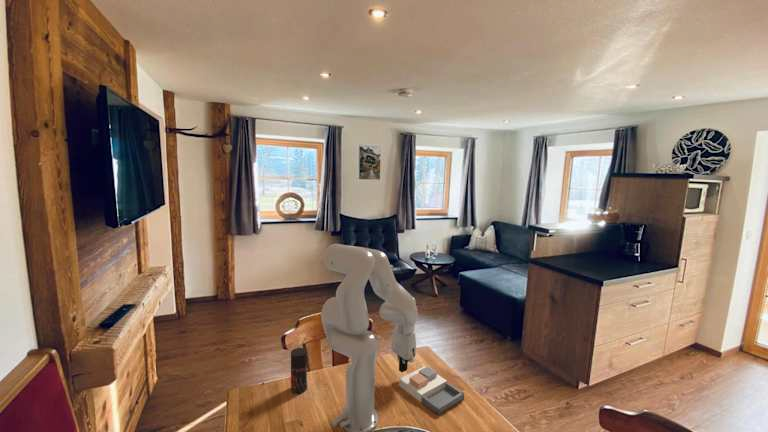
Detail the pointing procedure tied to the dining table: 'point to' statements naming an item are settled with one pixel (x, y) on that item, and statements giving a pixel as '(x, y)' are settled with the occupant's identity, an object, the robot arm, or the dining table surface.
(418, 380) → the terracotta tile
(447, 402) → the tray
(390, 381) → the dining table surface
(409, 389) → the board
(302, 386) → the deodorant
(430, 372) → the slate tile
